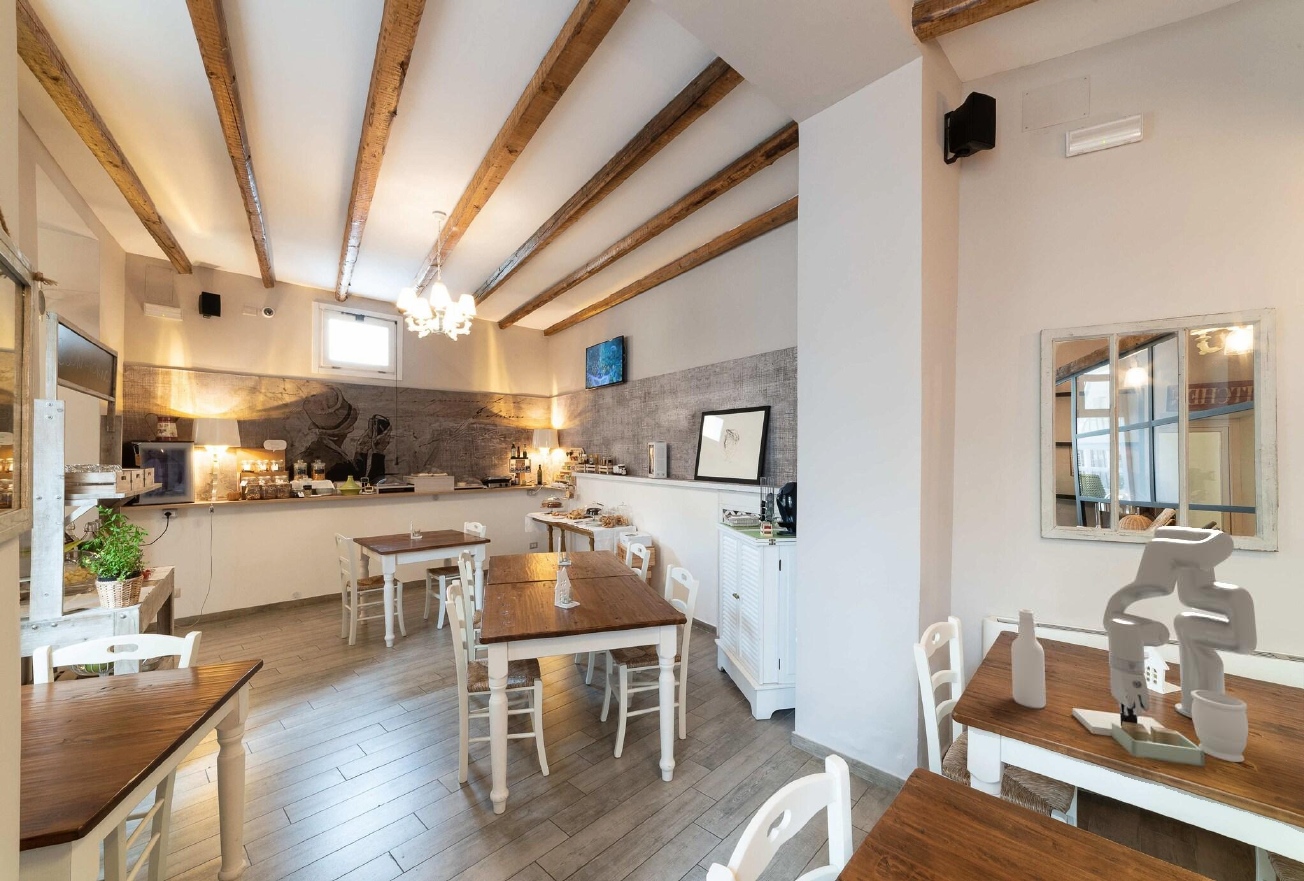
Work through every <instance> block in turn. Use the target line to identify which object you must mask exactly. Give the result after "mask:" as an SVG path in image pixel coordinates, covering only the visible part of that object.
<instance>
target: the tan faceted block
mask: <svg viewBox="0 0 1304 881" xmlns="http://www.w3.org/2000/svg"><path fill="white" fill-rule="evenodd" d="M1150 727H1151V742H1152V743H1160V744H1167V745H1174V746H1178V734H1177V733H1175V732H1174V731H1175V730H1173V729H1171V728H1166V727H1165V728H1160V727H1153V726H1150Z"/></svg>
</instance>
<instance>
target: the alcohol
mask: <svg viewBox="0 0 1304 881" xmlns="http://www.w3.org/2000/svg"><path fill="white" fill-rule="evenodd" d="M1018 616H1019V617H1018V618H1019V620H1018V634H1017V637H1016V638H1015V639H1014V640H1013V641H1012V643H1011V647H1010V648H1011V650H1010V653H1011V676H1012V680H1011V682H1012V698H1013V700H1014V701H1015V703H1017V704H1019V705H1021V706H1024V707H1027V708H1031V709H1043V708H1044V707H1045V706H1046V705H1047V702H1046V701H1047V700H1046V699H1047V698H1046V672H1045V671H1046V670H1045V667H1046V666H1045V651H1044V649H1043V646H1042V644H1041V643H1039V641H1038V639H1037V636H1036V626H1035V622H1034V618H1035V616H1034V612H1033V611H1032V610H1028V609H1019V610H1018Z"/></svg>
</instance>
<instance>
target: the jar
mask: <svg viewBox="0 0 1304 881" xmlns="http://www.w3.org/2000/svg"><path fill="white" fill-rule="evenodd" d="M1191 696H1192V697H1193V698H1194V700H1193V703H1192V718H1191V719H1192V723H1193V725H1194V726H1193V727H1194V731H1195V734H1196V737H1197V739H1198V740H1199V742H1200V743H1199V744H1198V747H1199V748H1201V749H1202V750H1204V754H1206V755H1208V756H1210V757H1213V758H1216V759H1220V760H1223V761H1226V762H1232V763H1241V762H1244V761H1245V757H1244V756H1243V754H1242V753H1243V752H1244V750H1245V749H1246V746H1247V741H1248V735H1249V722H1248V717H1247V716H1246V714H1245V712H1244V710H1246V711H1247V709H1248V705H1247V703H1246V702H1245V701H1243V700H1241V699H1239V698H1236V697H1234V696H1231V695H1228V694H1226V693H1225V694H1221V693H1216V692H1211V691H1204V690H1194V691H1191Z"/></svg>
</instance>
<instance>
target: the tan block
mask: <svg viewBox="0 0 1304 881" xmlns="http://www.w3.org/2000/svg"><path fill="white" fill-rule="evenodd" d="M1121 729H1122V730H1124V731H1125V732H1126V733H1127V734H1128V735H1129V736H1131V737H1132V738H1133V739H1134V740H1138V741H1145V742H1147V738H1148V734H1149V733H1148V731H1147V730H1146V728H1145V727H1144V726H1143V724H1139V723H1131V722H1122V727H1121Z"/></svg>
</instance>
